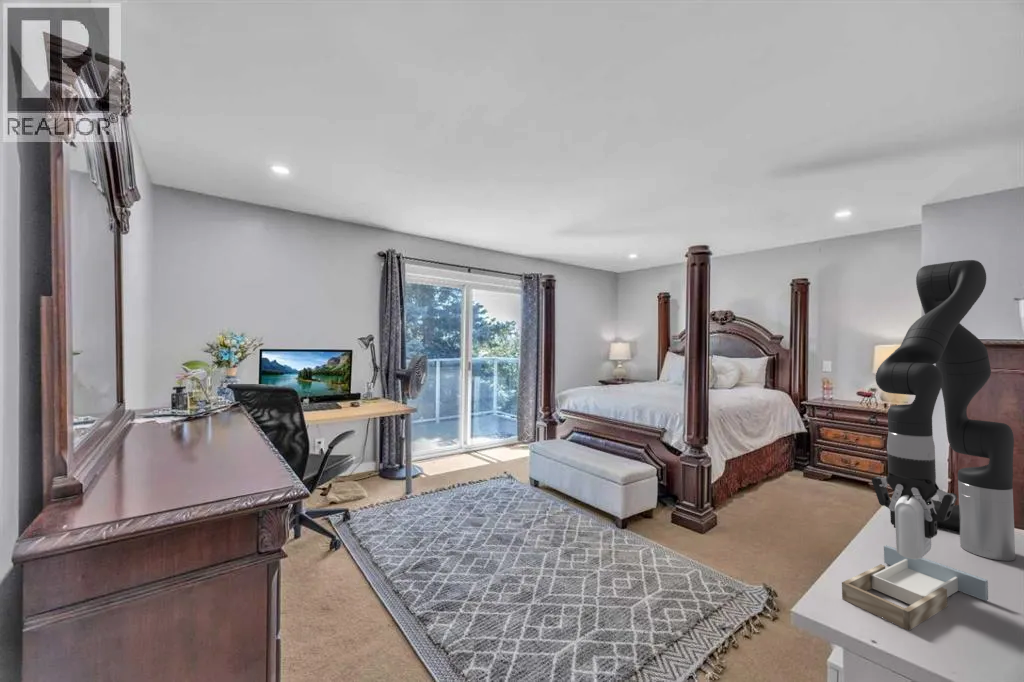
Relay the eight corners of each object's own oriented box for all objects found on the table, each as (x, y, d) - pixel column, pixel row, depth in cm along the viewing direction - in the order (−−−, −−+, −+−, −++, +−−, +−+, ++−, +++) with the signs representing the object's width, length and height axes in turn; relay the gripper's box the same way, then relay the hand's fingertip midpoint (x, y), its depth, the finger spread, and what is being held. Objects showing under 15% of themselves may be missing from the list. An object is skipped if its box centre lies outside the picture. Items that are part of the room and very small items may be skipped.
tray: (953, 622, 80) (952, 601, 80) (850, 578, 95) (849, 561, 95) (988, 599, 86) (987, 579, 87) (886, 561, 102) (886, 545, 102)
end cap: (918, 524, 122) (917, 501, 122) (925, 518, 126) (924, 496, 126) (968, 537, 114) (967, 512, 114) (974, 530, 118) (973, 506, 118)
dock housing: (908, 630, 79) (908, 611, 79) (842, 599, 88) (841, 582, 89) (947, 606, 85) (946, 589, 85) (881, 579, 95) (880, 564, 95)
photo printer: (908, 541, 95) (906, 486, 95) (934, 548, 92) (932, 492, 92) (893, 554, 90) (891, 496, 90) (920, 562, 86) (918, 502, 86)
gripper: (964, 459, 86) (967, 542, 86) (879, 445, 99) (882, 517, 99) (947, 464, 83) (950, 550, 83) (862, 449, 96) (864, 523, 96)
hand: (913, 532), depth 91 cm, fingers closed on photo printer, 4 cm apart
